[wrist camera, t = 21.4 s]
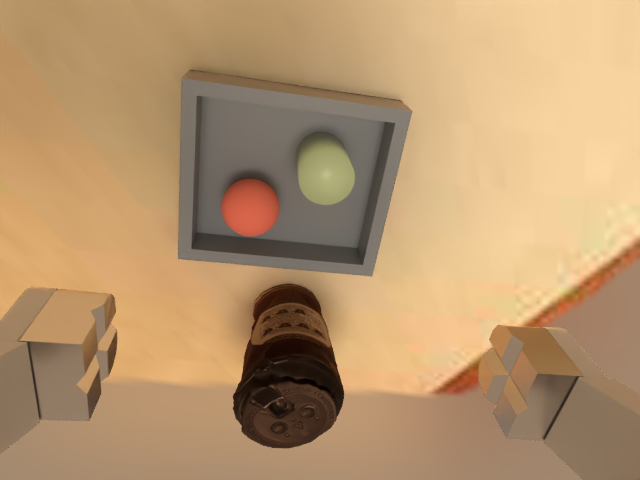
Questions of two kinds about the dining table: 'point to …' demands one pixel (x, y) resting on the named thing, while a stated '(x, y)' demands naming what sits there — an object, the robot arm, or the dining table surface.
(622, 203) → the dining table surface
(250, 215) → the red ball
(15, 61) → the dining table surface
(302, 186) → the pale green capsule
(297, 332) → the coffee cup
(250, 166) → the bin
